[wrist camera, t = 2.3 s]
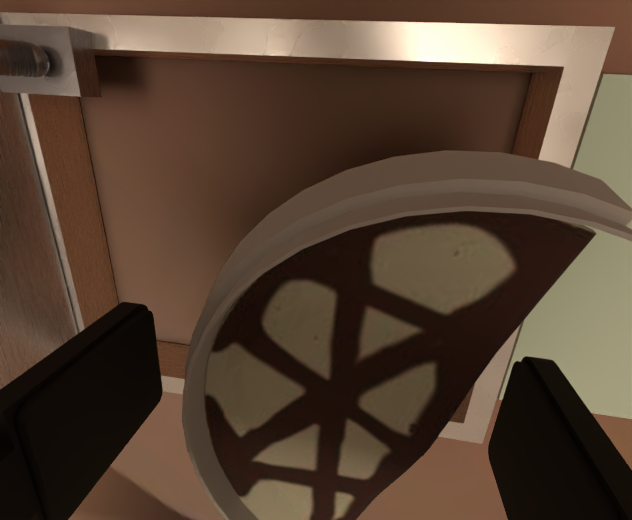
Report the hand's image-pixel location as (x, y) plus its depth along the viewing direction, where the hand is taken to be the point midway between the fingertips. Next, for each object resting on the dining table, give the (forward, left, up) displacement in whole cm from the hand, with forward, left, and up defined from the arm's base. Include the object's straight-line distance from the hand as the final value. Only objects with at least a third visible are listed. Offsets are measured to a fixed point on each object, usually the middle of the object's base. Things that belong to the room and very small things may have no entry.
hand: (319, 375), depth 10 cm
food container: (-1, 0, -8) cm, 8 cm away
